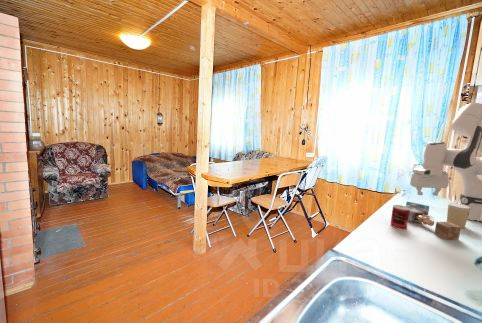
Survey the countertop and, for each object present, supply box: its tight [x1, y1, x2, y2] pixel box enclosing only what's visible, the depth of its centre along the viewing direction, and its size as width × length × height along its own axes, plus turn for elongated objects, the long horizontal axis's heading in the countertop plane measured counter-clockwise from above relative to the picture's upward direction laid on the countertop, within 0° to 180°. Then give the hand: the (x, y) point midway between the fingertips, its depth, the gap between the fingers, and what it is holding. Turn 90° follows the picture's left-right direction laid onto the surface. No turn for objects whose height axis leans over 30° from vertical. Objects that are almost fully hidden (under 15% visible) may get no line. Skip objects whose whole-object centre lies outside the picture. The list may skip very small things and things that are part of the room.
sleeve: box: [408, 209, 424, 224], centre depth 136 cm, size 7×6×6 cm
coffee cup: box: [446, 202, 470, 229], centre depth 131 cm, size 9×9×12 cm
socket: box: [434, 221, 462, 241], centre depth 116 cm, size 7×6×7 cm
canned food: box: [390, 204, 410, 230], centre depth 127 cm, size 8×8×11 cm
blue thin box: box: [405, 200, 430, 216], centre depth 151 cm, size 12×2×6 cm, turn 45°
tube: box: [414, 214, 435, 227], centre depth 132 cm, size 4×16×4 cm, turn 6°
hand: (427, 195), depth 127 cm, fingers open, 8 cm apart
